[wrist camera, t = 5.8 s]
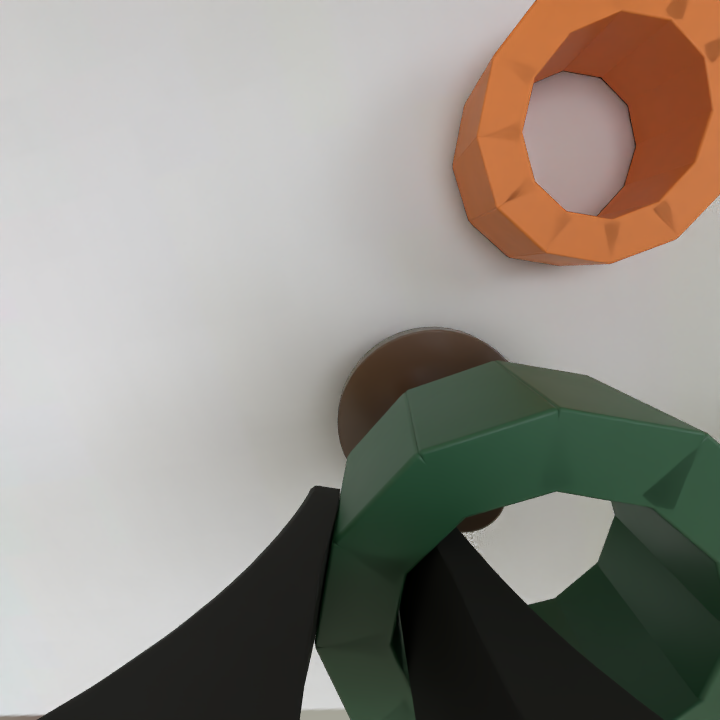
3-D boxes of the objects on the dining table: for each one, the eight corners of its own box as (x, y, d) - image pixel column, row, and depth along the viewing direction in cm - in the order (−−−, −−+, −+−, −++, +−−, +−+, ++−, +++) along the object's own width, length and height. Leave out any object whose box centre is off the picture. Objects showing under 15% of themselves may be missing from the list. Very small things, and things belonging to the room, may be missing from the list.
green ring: (739, 507, 10) (932, 630, 7) (503, 695, 12) (553, 870, 8) (492, 292, 9) (560, 301, 6) (278, 531, 11) (230, 649, 8)
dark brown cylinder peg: (557, 404, 18) (671, 480, 12) (436, 526, 20) (473, 656, 13) (419, 287, 17) (456, 296, 10) (303, 428, 19) (268, 515, 12)
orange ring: (714, 136, 16) (814, 97, 12) (559, 303, 17) (608, 311, 14) (563, -25, 15) (627, -120, 11) (412, 171, 16) (425, 142, 13)
